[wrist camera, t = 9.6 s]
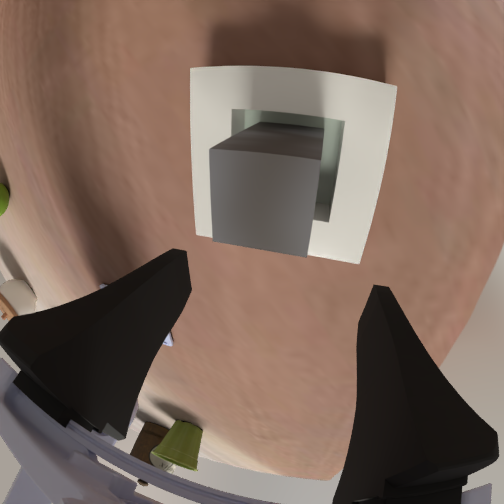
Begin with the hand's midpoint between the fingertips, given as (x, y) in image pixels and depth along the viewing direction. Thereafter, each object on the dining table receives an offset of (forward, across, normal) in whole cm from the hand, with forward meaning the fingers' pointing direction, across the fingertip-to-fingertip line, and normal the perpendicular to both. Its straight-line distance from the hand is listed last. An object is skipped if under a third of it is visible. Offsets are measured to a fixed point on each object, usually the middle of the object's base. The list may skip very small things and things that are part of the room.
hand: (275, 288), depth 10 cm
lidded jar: (+10, +52, +26) cm, 59 cm away
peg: (+10, +1, -3) cm, 10 cm away
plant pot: (+10, +18, +61) cm, 65 cm away
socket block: (+10, +1, -3) cm, 10 cm away
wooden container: (+10, +30, +82) cm, 88 cm away
